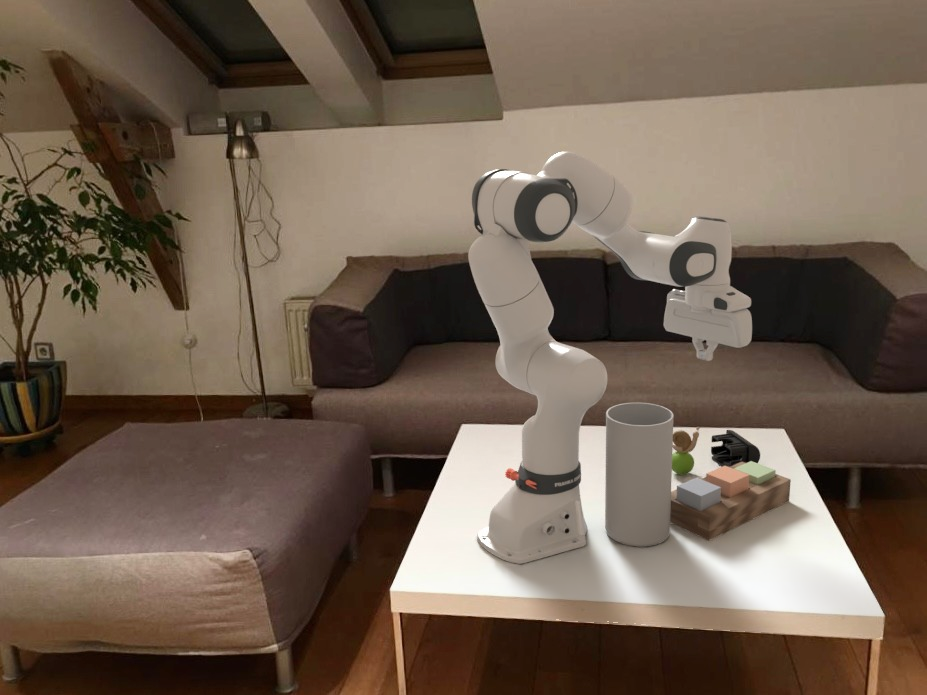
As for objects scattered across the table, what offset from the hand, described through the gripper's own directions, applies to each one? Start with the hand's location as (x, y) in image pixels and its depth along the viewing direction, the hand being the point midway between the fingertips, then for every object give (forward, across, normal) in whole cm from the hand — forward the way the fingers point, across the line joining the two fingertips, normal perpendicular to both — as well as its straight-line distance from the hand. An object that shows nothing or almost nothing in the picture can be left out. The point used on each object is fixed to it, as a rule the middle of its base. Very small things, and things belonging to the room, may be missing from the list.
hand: (704, 359), depth 175 cm
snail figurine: (+29, -6, +2) cm, 30 cm away
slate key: (+25, +11, -14) cm, 31 cm away
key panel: (+29, +11, -5) cm, 31 cm away
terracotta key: (+25, +11, -5) cm, 28 cm away
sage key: (+27, +11, +4) cm, 29 cm away
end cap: (+29, -2, +15) cm, 33 cm away
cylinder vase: (+29, +6, -26) cm, 40 cm away
